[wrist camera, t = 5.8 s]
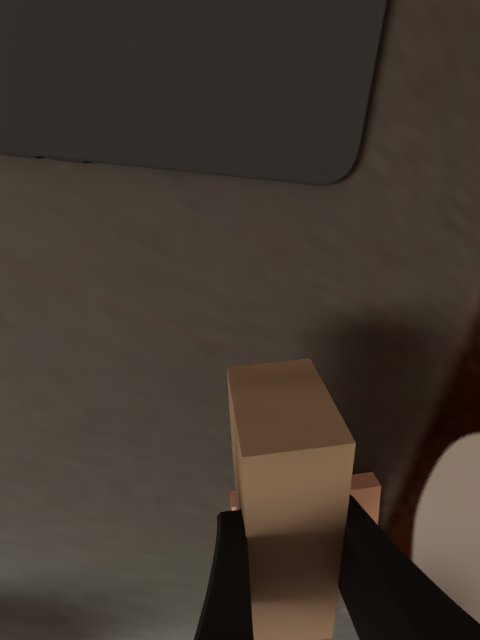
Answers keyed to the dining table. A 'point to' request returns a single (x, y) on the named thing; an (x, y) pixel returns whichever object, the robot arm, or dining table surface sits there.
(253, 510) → the scraper
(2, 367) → the dining table surface
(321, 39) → the phone
